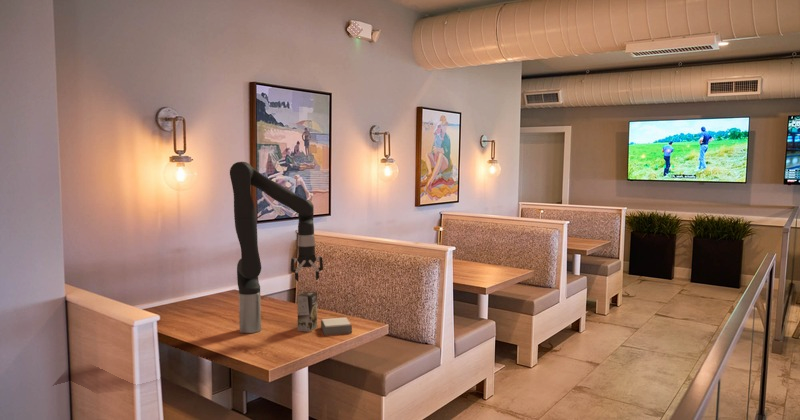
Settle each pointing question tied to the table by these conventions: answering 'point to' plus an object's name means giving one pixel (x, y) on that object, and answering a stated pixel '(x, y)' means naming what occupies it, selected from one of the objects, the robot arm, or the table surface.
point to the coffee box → (307, 311)
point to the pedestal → (336, 326)
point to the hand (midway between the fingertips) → (307, 280)
